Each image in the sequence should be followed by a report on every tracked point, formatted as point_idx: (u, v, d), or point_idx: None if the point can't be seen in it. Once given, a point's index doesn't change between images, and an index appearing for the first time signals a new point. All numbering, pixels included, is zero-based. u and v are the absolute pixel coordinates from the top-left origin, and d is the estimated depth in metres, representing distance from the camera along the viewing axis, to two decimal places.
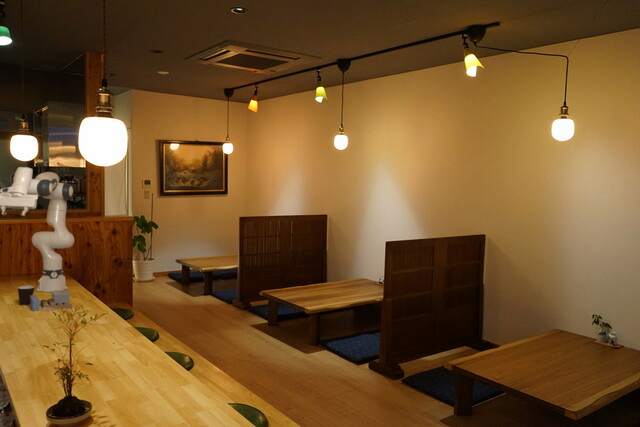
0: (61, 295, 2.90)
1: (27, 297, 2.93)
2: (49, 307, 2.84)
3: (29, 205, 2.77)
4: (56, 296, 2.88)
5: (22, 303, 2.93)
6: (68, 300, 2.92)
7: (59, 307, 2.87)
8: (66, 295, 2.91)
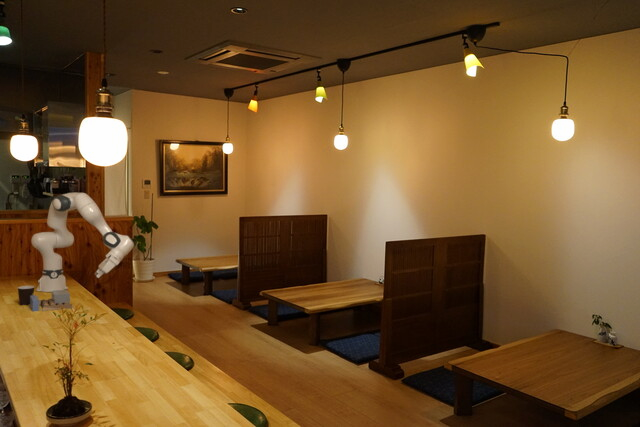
0: (61, 295, 2.90)
1: (27, 297, 2.93)
2: (49, 307, 2.84)
3: None
4: (56, 296, 2.88)
5: (22, 303, 2.93)
6: (68, 300, 2.92)
7: (59, 307, 2.87)
8: (66, 295, 2.91)
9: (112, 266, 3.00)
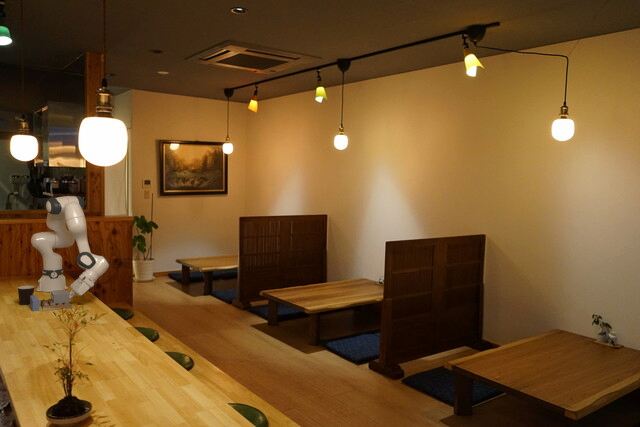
0: (60, 295, 2.90)
1: (27, 297, 2.93)
2: (49, 307, 2.84)
3: None
4: (55, 296, 2.88)
5: (22, 303, 2.93)
6: (67, 300, 2.92)
7: (59, 307, 2.87)
8: (65, 295, 2.91)
9: (87, 288, 2.95)
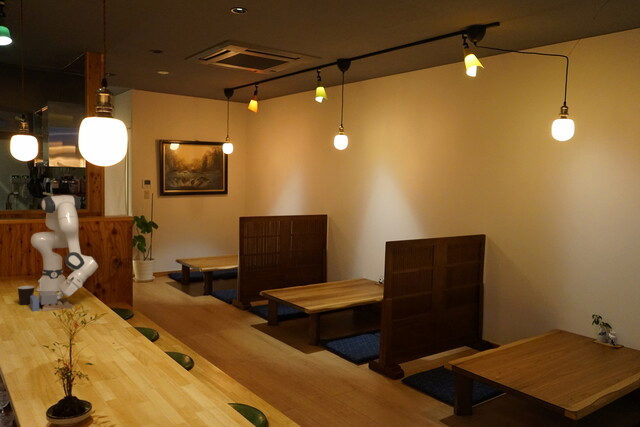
0: (48, 296, 2.86)
1: (27, 297, 2.93)
2: (49, 307, 2.84)
3: None
4: (43, 297, 2.84)
5: (22, 303, 2.93)
6: (55, 301, 2.88)
7: (59, 307, 2.87)
8: (53, 296, 2.87)
9: (75, 289, 2.91)
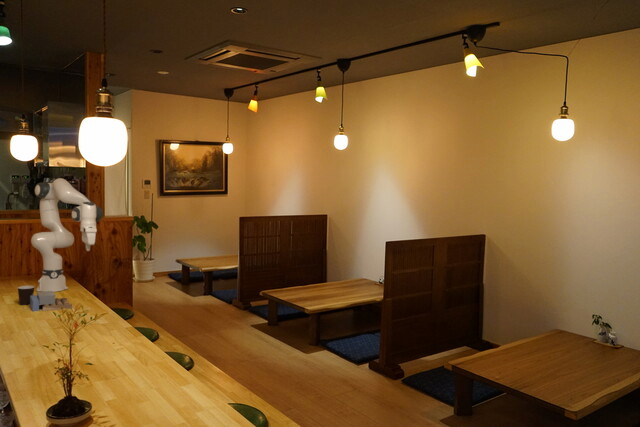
0: (46, 296, 2.85)
1: (27, 297, 2.93)
2: (49, 307, 2.84)
3: None
4: (41, 297, 2.84)
5: (22, 303, 2.93)
6: (53, 301, 2.88)
7: (59, 307, 2.87)
8: (51, 296, 2.87)
9: (94, 236, 3.02)
